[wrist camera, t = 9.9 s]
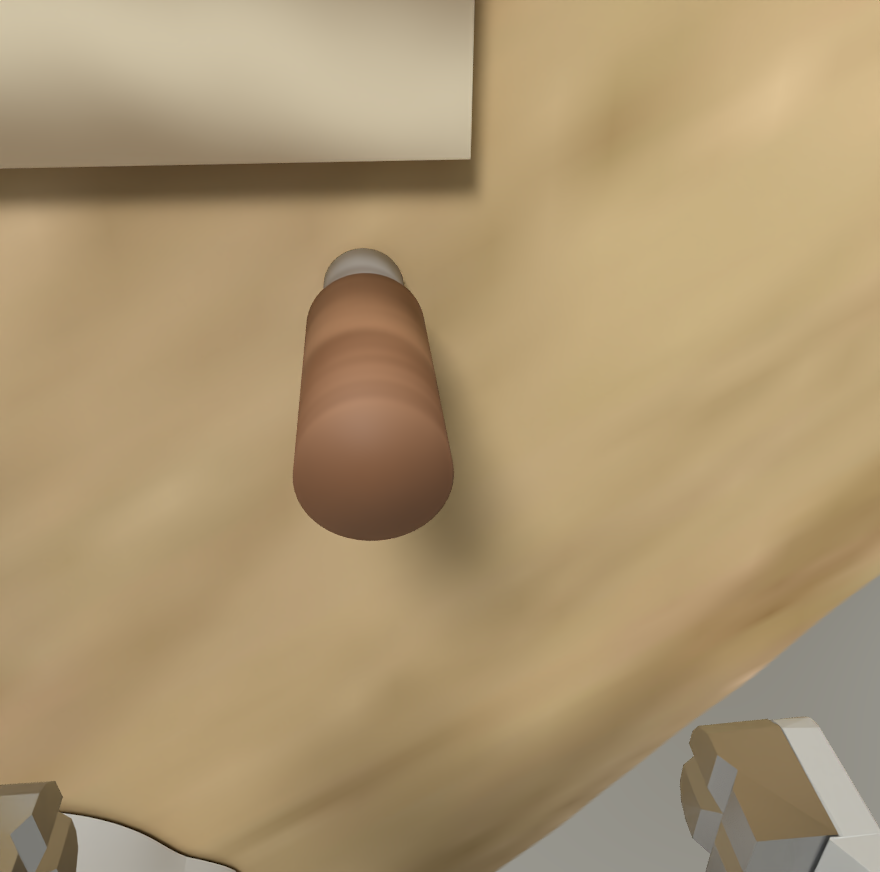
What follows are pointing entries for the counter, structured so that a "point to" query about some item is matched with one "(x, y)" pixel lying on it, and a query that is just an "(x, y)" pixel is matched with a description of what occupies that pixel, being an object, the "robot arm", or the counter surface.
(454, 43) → the beige flat block
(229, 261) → the counter surface
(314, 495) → the brown rounded cylinder
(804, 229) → the counter surface
